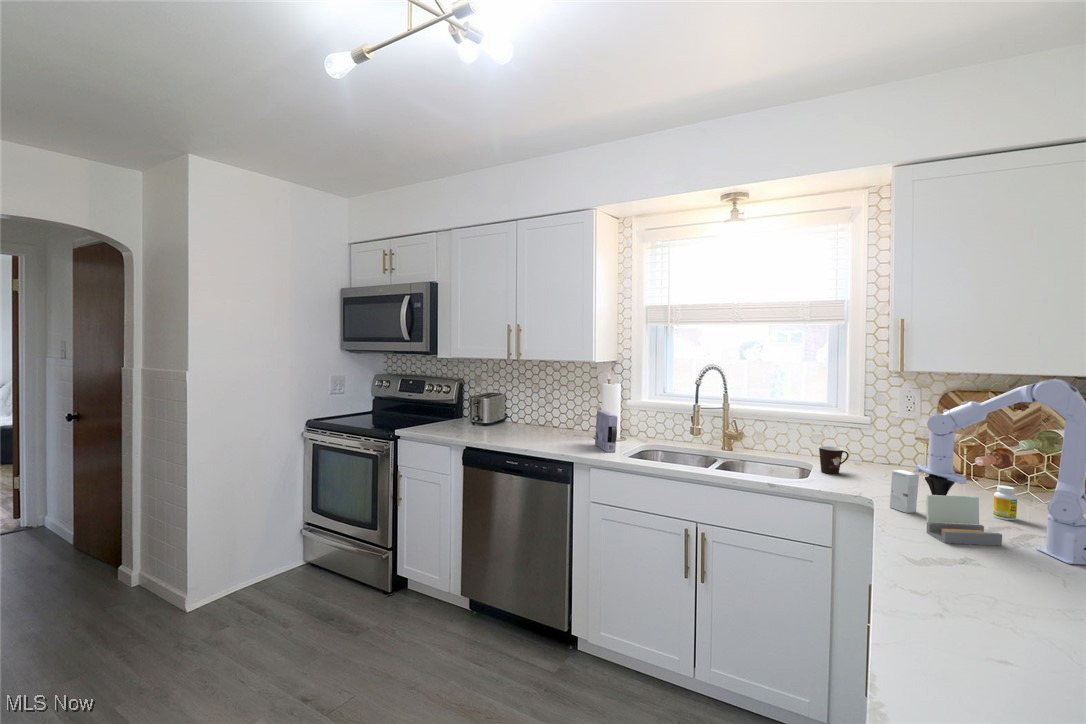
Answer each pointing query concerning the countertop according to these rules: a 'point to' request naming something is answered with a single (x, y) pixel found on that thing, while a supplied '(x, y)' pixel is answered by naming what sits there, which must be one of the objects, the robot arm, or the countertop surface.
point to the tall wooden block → (962, 530)
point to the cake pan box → (606, 431)
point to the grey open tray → (963, 534)
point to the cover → (952, 509)
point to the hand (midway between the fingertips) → (938, 502)
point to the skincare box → (904, 491)
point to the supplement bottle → (1005, 503)
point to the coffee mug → (831, 459)
